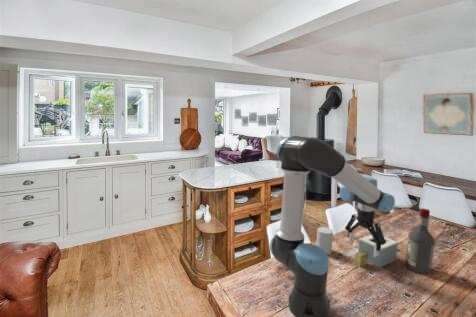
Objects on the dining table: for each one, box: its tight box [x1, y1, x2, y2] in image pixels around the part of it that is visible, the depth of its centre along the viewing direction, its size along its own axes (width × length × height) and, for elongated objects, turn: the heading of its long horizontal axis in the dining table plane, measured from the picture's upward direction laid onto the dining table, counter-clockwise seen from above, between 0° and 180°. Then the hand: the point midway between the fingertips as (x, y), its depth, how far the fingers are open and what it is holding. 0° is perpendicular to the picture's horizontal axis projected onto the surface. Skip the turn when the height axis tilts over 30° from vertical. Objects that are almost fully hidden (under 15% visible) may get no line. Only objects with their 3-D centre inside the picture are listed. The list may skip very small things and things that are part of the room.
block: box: [354, 251, 368, 268], centre depth 131 cm, size 6×3×6 cm, turn 120°
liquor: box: [405, 208, 436, 275], centre depth 126 cm, size 9×9×30 cm
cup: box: [315, 226, 334, 256], centre depth 143 cm, size 8×8×12 cm
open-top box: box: [358, 234, 399, 268], centre depth 136 cm, size 14×12×10 cm
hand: (362, 249), depth 130 cm, fingers open, 13 cm apart
